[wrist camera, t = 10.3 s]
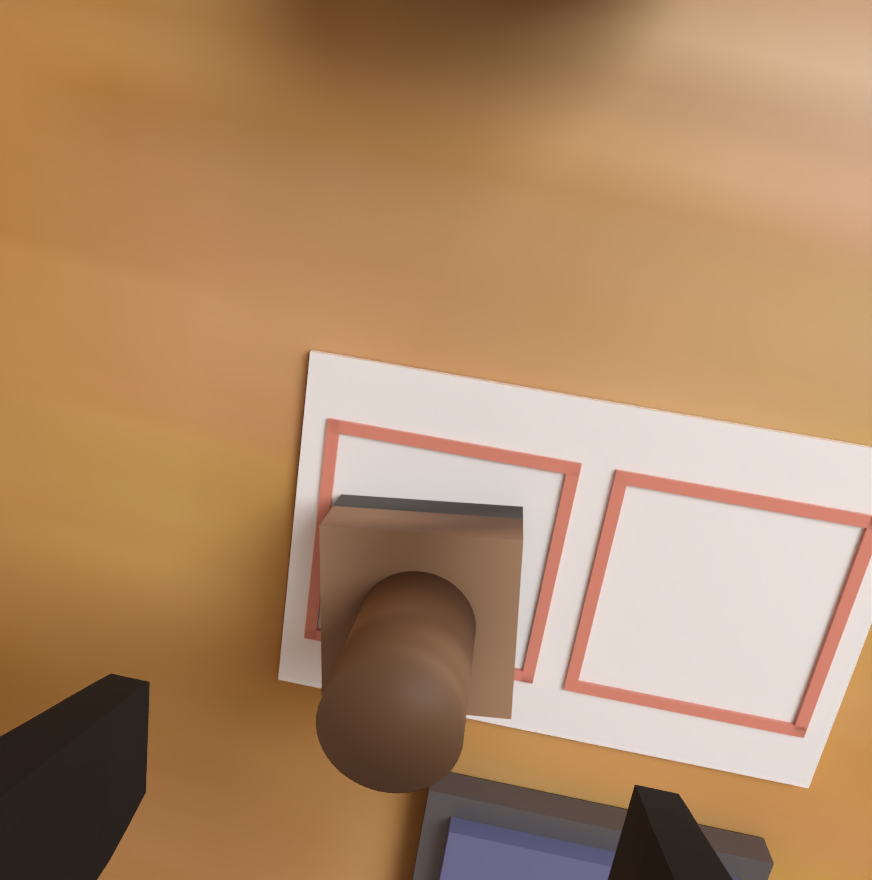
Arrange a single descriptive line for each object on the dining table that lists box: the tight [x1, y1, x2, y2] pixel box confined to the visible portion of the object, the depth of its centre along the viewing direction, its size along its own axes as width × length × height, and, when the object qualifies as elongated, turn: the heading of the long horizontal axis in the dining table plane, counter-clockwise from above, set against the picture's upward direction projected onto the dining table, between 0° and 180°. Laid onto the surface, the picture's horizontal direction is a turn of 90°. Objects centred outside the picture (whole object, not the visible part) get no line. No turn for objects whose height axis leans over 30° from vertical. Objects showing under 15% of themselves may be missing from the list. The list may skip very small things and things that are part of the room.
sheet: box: [278, 350, 872, 788], centre depth 17 cm, size 14×9×1 cm, turn 82°
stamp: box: [316, 494, 523, 793], centre depth 15 cm, size 4×4×6 cm
